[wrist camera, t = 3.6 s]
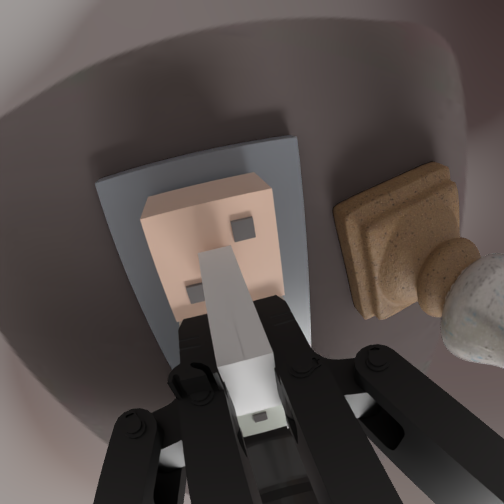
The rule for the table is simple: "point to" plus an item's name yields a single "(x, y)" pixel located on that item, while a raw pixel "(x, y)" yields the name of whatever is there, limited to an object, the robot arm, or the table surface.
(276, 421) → the one pip key
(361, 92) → the table surface
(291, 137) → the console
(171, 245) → the three pip key
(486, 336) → the candle holder
